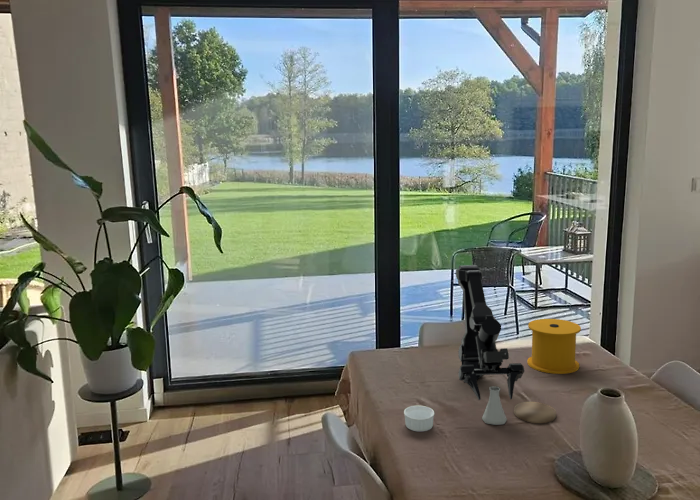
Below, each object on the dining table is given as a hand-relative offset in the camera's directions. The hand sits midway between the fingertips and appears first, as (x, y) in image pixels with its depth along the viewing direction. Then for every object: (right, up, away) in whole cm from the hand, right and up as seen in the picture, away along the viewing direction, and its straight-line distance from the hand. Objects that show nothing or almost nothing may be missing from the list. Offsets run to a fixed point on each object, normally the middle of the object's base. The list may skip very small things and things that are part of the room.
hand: (495, 399), depth 169 cm
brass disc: (+13, -6, +5) cm, 15 cm away
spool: (+32, +1, +43) cm, 54 cm away
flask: (0, -7, +2) cm, 7 cm away
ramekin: (-22, -8, +1) cm, 24 cm away
